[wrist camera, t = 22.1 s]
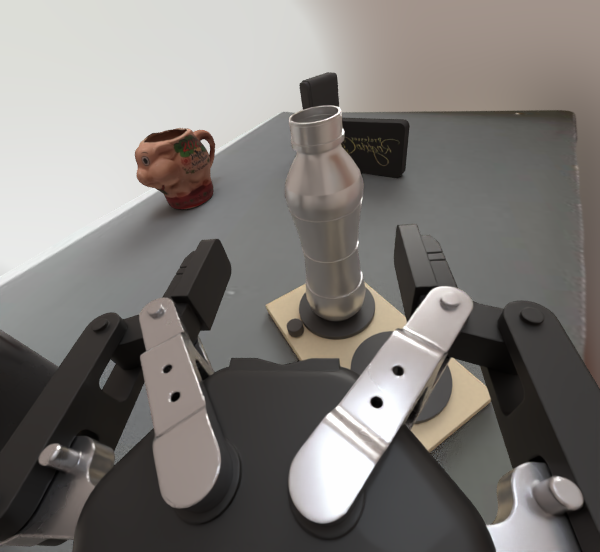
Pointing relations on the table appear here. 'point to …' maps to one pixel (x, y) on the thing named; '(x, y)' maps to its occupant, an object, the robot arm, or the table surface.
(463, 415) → the hob
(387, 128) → the nameplate
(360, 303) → the silver bottle
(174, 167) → the animal head mug
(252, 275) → the table surface
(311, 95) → the dark grey upright block
